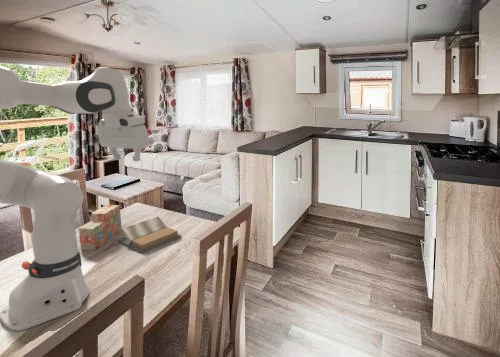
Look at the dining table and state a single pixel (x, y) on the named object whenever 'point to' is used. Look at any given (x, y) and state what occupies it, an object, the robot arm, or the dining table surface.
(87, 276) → the dining table surface
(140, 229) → the ash plank
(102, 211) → the stack of blocks
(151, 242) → the board
